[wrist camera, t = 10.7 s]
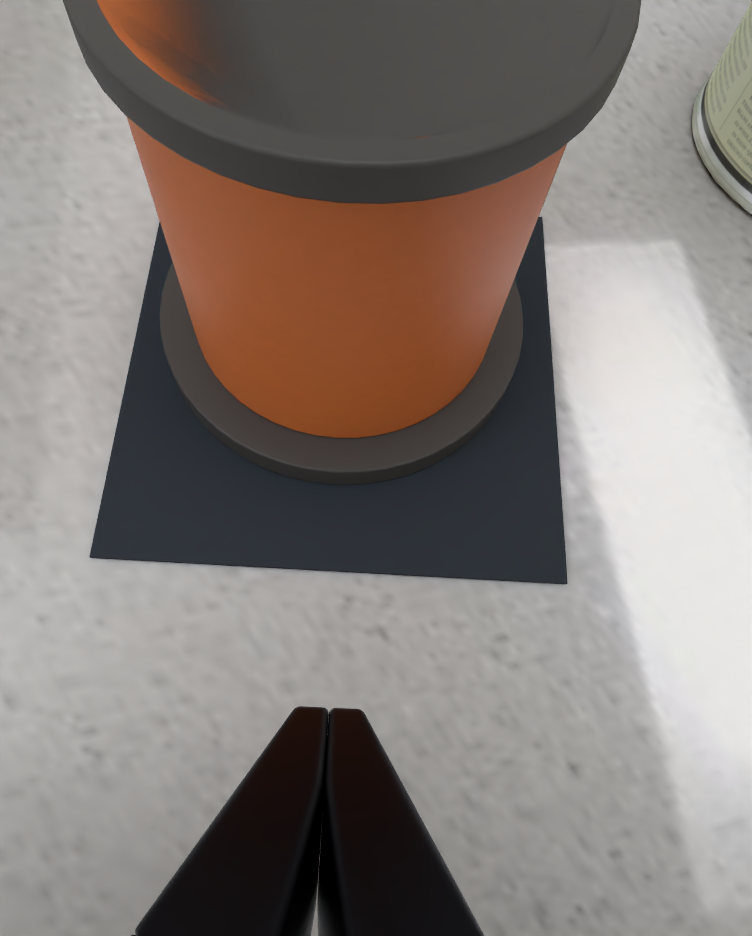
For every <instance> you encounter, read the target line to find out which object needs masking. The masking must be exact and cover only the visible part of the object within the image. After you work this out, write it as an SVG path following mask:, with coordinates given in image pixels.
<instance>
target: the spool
mask: <svg viewBox="0 0 752 936" xmlns="http://www.w3.org/2000/svg"><path fill="white" fill-rule="evenodd" d="M63 3H64V5H65V8H66V11H67V14H68V17H69V20H70V22H71V25H72V28H73V31H74V34H75V37H76V39H77V42H78V44H79V47H80V49H81V52H82V54H83V57H84V59H85V62H86V64H87V66H88V67H89V69H90V71H91V72H92V74H93V75H94V77H95V78H96V80H97V82H98V83H99V85H100V86H101V88H102V89H103V91H104V92H105V93H106V94H107V95H108V96H109V97H110V98H111V100H112V101H113V102H114V103H115V104H116V105H117V106H118V107H119V108H120V110H121V111H122V112H123V113H124V114H125V115H126V116H127V119H128V122H129V125H130V128H131V132H132V135H133V138H134V141H135V144H136V147H137V150H138V154H139V157H140V160H141V163H142V166H143V169H144V173H145V176H146V179H147V182H148V185H149V188H150V192H151V195H152V198H153V201H154V204H155V207H156V211H157V214H158V217H159V220H160V223H161V226H162V229H163V233H164V236H165V239H166V242H167V245H168V248H169V252H170V255H171V258H172V261H173V263H172V265H171V267H170V269H169V271H168V274H167V277H166V281H165V285H164V288H163V292H162V298H161V307H160V328H161V337H162V342H163V347H164V351H165V355H166V358H167V361H168V363H169V366H170V368H171V371H172V374H173V376H174V379H175V381H176V383H177V386H178V388H179V390H180V392H181V394H182V396H183V397H184V399H185V401H186V403H187V404H188V406H189V408H190V409H191V410H192V412H193V413H194V414H195V415H196V417H197V418H198V419H199V421H200V422H201V423H202V424H203V426H204V427H206V428H207V429H208V430H209V431H210V432H211V433H212V434H213V435H214V436H215V437H216V438H217V439H218V440H219V441H220V442H222V443H223V444H224V445H226V446H227V447H229V448H230V449H231V450H233V451H234V452H236V453H237V454H238V455H240V456H242V457H244V458H245V459H247V460H249V461H251V462H253V463H255V464H257V465H258V466H260V467H263V468H265V469H268V470H271V471H273V472H276V473H278V474H281V475H284V476H288V477H292V478H296V479H300V480H304V481H308V482H316V483H325V484H333V485H349V484H366V483H374V482H382V481H387V480H391V479H395V478H398V477H402V476H406V475H409V474H412V473H414V472H417V471H419V470H422V469H424V468H427V467H429V466H431V465H433V464H435V463H437V462H438V461H440V460H442V459H444V458H446V457H447V456H449V455H451V454H452V453H453V452H455V451H456V450H457V449H459V448H460V447H461V446H463V445H464V444H465V443H467V442H468V441H469V440H470V439H471V438H472V437H473V436H474V435H475V434H476V433H477V432H478V431H479V430H480V429H481V428H482V427H483V426H484V425H485V423H486V422H487V421H488V419H489V418H490V417H491V415H492V414H493V412H494V411H495V410H496V408H497V406H498V404H499V402H500V401H501V399H502V397H503V395H504V393H505V391H506V389H507V387H508V385H509V383H510V381H511V379H512V377H513V374H514V371H515V368H516V365H517V362H518V359H519V355H520V350H521V344H522V339H523V315H522V307H521V299H520V296H519V292H518V289H517V285H516V282H515V279H514V278H515V276H516V273H517V271H518V268H519V266H520V263H521V260H522V258H523V255H524V253H525V250H526V248H527V245H528V242H529V240H530V237H531V235H532V232H533V230H534V227H535V225H536V222H537V219H538V217H539V214H540V212H541V209H542V207H543V204H544V201H545V199H546V196H547V194H548V191H549V189H550V186H551V183H552V181H553V178H554V176H555V173H556V171H557V168H558V166H559V163H560V160H561V158H562V155H563V153H564V150H565V148H566V145H567V143H568V142H569V141H570V140H572V139H573V138H574V137H575V136H576V135H578V134H579V133H580V132H581V131H582V130H583V129H584V128H585V127H586V126H587V125H588V123H589V122H590V121H591V120H592V119H593V118H594V116H595V115H596V114H597V113H598V112H599V111H600V109H601V108H602V107H603V105H604V103H605V102H606V100H607V98H608V96H609V95H610V93H611V91H612V89H613V88H614V86H615V84H616V82H617V79H618V77H619V75H620V72H621V70H622V68H623V65H624V63H625V61H626V58H627V56H628V54H629V51H630V48H631V46H632V43H633V40H634V37H635V34H636V31H637V28H638V22H639V14H640V6H641V0H63Z"/></svg>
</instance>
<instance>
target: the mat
mask: <svg viewBox="0 0 752 936" xmlns="http://www.w3.org/2000/svg"><path fill="white" fill-rule="evenodd" d="M172 263H173V261H172V258H171V255H170V252H169V248H168V245H167V242H166V239H165V236H164V233H163V229H162V226H161V223H159V227H158V232H157V237H156V242H155V246H154V251H153V256H152V261H151V266H150V270H149V275H148V280H147V285H146V289H145V294H144V299H143V304H142V309H141V313H140V318H139V323H138V328H137V333H136V337H135V342H134V347H133V352H132V356H131V361H130V366H129V371H128V376H127V380H126V385H125V390H124V395H123V399H122V404H121V409H120V414H119V419H118V423H117V428H116V433H115V438H114V443H113V447H112V452H111V457H110V462H109V466H108V471H107V476H106V481H105V486H104V490H103V495H102V500H101V505H100V509H99V514H98V519H97V524H96V529H95V533H94V538H93V543H92V548H91V553H90V557H91V558H105V559H123V560H141V561H159V562H177V563H195V564H213V565H231V566H249V567H267V568H285V569H303V570H321V571H339V572H357V573H375V574H393V575H412V576H430V577H448V578H466V579H484V580H502V581H520V582H538V583H556V584H567V569H566V555H565V540H564V526H563V511H562V497H561V483H560V468H559V454H558V439H557V425H556V410H555V396H554V381H553V367H552V353H551V338H550V324H549V309H548V295H547V280H546V266H545V251H544V237H543V223H542V217H538V219H537V222H536V225H535V227H534V230H533V232H532V235H531V237H530V240H529V242H528V245H527V248H526V250H525V253H524V255H523V258H522V260H521V263H520V266H519V268H518V271H517V273H516V276H515V278H514V279H515V282H516V285H517V289H518V292H519V296H520V299H521V307H522V315H523V339H522V344H521V350H520V355H519V359H518V362H517V365H516V368H515V371H514V374H513V377H512V379H511V381H510V383H509V385H508V387H507V389H506V391H505V393H504V395H503V397H502V399H501V401H500V402H499V404H498V406H497V408H496V410H495V411H494V412H493V414H492V415H491V417H490V418H489V419H488V421H487V422H486V423H485V425H484V426H483V427H482V428H481V429H480V430H479V431H478V432H477V433H476V434H475V435H474V436H473V437H472V438H471V439H470V440H469V441H468V442H467V443H465V444H464V445H463V446H461V447H460V448H459V449H457V450H456V451H455V452H453V453H452V454H451V455H449V456H447V457H446V458H444V459H442V460H440V461H438V462H437V463H435V464H433V465H431V466H429V467H427V468H424V469H422V470H419V471H417V472H414V473H412V474H409V475H406V476H402V477H398V478H395V479H391V480H387V481H382V482H374V483H366V484H349V485H333V484H325V483H316V482H308V481H304V480H300V479H296V478H292V477H288V476H284V475H281V474H278V473H276V472H273V471H271V470H268V469H265V468H263V467H260V466H258V465H257V464H255V463H253V462H251V461H249V460H247V459H245V458H244V457H242V456H240V455H238V454H237V453H236V452H234V451H233V450H231V449H230V448H229V447H227V446H226V445H224V444H223V443H222V442H220V441H219V440H218V439H217V438H216V437H215V436H214V435H213V434H212V433H211V432H210V431H209V430H208V429H207V428H206V427H204V426H203V424H202V423H201V422H200V421H199V419H198V418H197V417H196V415H195V414H194V413H193V412H192V410H191V409H190V408H189V406H188V404H187V403H186V401H185V399H184V397H183V396H182V394H181V392H180V390H179V388H178V386H177V383H176V381H175V379H174V376H173V374H172V371H171V368H170V366H169V363H168V361H167V358H166V355H165V351H164V347H163V342H162V337H161V328H160V307H161V298H162V292H163V288H164V285H165V281H166V277H167V274H168V271H169V269H170V267H171V265H172Z"/></svg>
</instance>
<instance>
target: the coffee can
mask: <svg viewBox="0 0 752 936" xmlns="http://www.w3.org/2000/svg"><path fill="white" fill-rule="evenodd" d="M692 132H693V137H694V141H695V144H696V147H697V150H698V152H699V155H700V157H701V159H702V161H703V162H704V164H705V166H706V168H707V169H708V170H709V172H710V173H711V175H712V177H713V178H714V180H715V181H716V182H717V183H718V184H719V185H720V186H721V187H722V188H723V189H724V190H725V191H726V192H727V193H728V194H729V195H730V196H731V197H732V199H733V200H734V201H736V202H737V203H738V204H740V205H741V206H742V207H743V208H744V209H745V210H746V211H747V212H749V213H750V214H751V215H752V2H751V4H750V6H749V8H748V10H747V11H746V13H745V15H744V17H743V19H742V21H741V22H740V24H739V26H738V28H737V30H736V31H735V33H734V35H733V37H732V39H731V40H730V42H729V44H728V46H727V48H726V50H725V51H724V53H723V55H722V57H721V59H720V60H719V62H718V64H717V66H716V68H715V69H714V71H713V73H712V74H711V76H710V77H709V78H708V80H707V81H706V82H705V84H704V85H703V87H702V88H701V90H700V92H699V94H698V95H697V97H696V99H695V102H694V106H693V117H692Z"/></svg>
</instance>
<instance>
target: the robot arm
mask: <svg viewBox="0 0 752 936" xmlns="http://www.w3.org/2000/svg"><path fill="white" fill-rule="evenodd" d="M328 716H329V721H328ZM327 733H328V735H327ZM321 827H322V829H321ZM320 842H321V846H320ZM319 857H320V862H319ZM318 872H319V879H318ZM317 886H318V936H484V934H483V932H482V931H481V929H480V927H479V925H478V923H477V921H476V919H475V918H474V916H473V914H472V912H471V910H470V908H469V906H468V905H467V903H466V901H465V899H464V897H463V895H462V893H461V892H460V890H459V888H458V886H457V884H456V882H455V880H454V879H453V877H452V875H451V873H450V871H449V869H448V867H447V866H446V864H445V862H444V860H443V858H442V856H441V854H440V853H439V851H438V849H437V847H436V845H435V843H434V841H433V840H432V838H431V836H430V834H429V832H428V830H427V829H426V827H425V825H424V823H423V821H422V819H421V817H420V816H419V814H418V812H417V810H416V808H415V806H414V804H413V803H412V801H411V799H410V797H409V795H408V793H407V791H406V790H405V788H404V786H403V784H402V782H401V780H400V778H399V777H398V775H397V773H396V771H395V769H394V767H393V765H392V764H391V762H390V760H389V758H388V756H387V754H386V752H385V751H384V749H383V747H382V745H381V743H380V741H379V739H378V738H377V736H376V734H375V732H374V730H373V728H372V726H371V725H370V723H369V721H368V719H367V717H366V715H365V714H364V712H363V711H361V710H359V709H345V708H333V709H332V710H331V711H330V712H329V714H328V710H327V709H326V708H323V707H303V706H300V707H297V708H295V709H294V710H293V711H292V712H291V714H290V715H289V717H288V718H287V719H286V721H285V722H284V724H283V725H282V726H281V728H280V729H279V730H278V732H277V733H276V735H275V736H274V737H273V739H272V740H271V742H270V743H269V744H268V746H267V747H266V748H265V750H264V751H263V753H262V754H261V755H260V757H259V758H258V760H257V761H256V762H255V764H254V765H253V766H252V768H251V769H250V771H249V772H248V773H247V775H246V776H245V778H244V779H243V780H242V782H241V783H240V785H239V786H238V787H237V789H236V790H235V791H234V793H233V794H232V796H231V797H230V798H229V800H228V801H227V803H226V804H225V805H224V807H223V808H222V809H221V811H220V812H219V814H218V815H217V816H216V818H215V819H214V821H213V822H212V823H211V825H210V826H209V827H208V829H207V830H206V832H205V833H204V834H203V836H202V837H201V839H200V840H199V841H198V843H197V844H196V846H195V847H194V848H193V850H192V851H191V852H190V854H189V855H188V857H187V858H186V859H185V861H184V862H183V864H182V865H181V866H180V868H179V869H178V870H177V872H176V873H175V875H174V876H173V877H172V879H171V880H170V882H169V883H168V884H167V886H166V887H165V888H164V890H163V891H162V893H161V894H160V895H159V897H158V898H157V900H156V901H155V902H154V904H153V905H152V907H151V908H150V909H149V911H148V912H147V913H146V915H145V916H144V918H143V919H142V920H141V922H140V923H139V925H138V926H137V927H136V930H135V935H131V936H311V931H312V925H313V919H314V912H315V906H316V896H317Z"/></svg>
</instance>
